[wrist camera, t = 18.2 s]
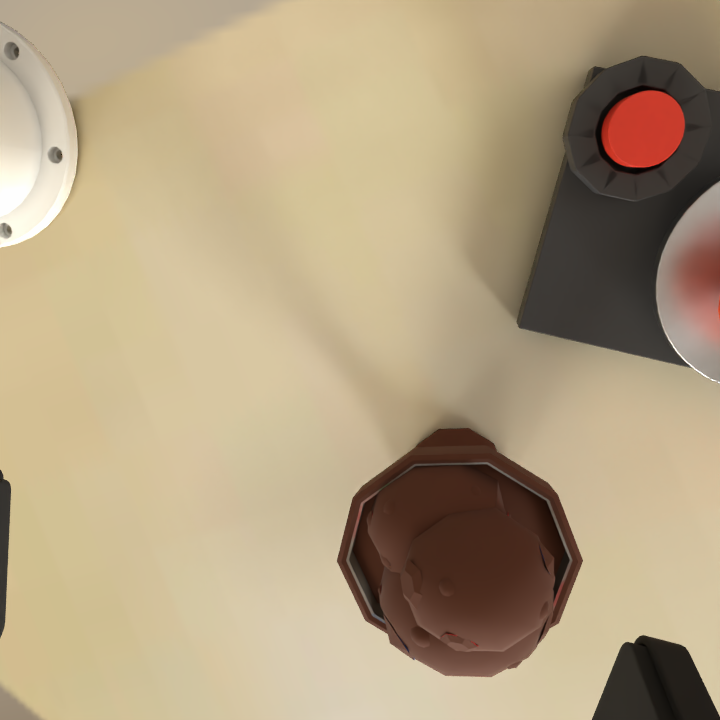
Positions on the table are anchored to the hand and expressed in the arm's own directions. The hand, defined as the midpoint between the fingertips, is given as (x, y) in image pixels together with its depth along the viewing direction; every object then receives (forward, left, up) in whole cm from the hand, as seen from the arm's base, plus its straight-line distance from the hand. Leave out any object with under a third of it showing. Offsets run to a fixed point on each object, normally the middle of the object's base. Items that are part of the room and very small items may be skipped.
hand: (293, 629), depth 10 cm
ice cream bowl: (+5, -10, -28) cm, 31 cm away
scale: (+14, +6, -28) cm, 32 cm away
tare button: (+9, +10, -26) cm, 29 cm away
